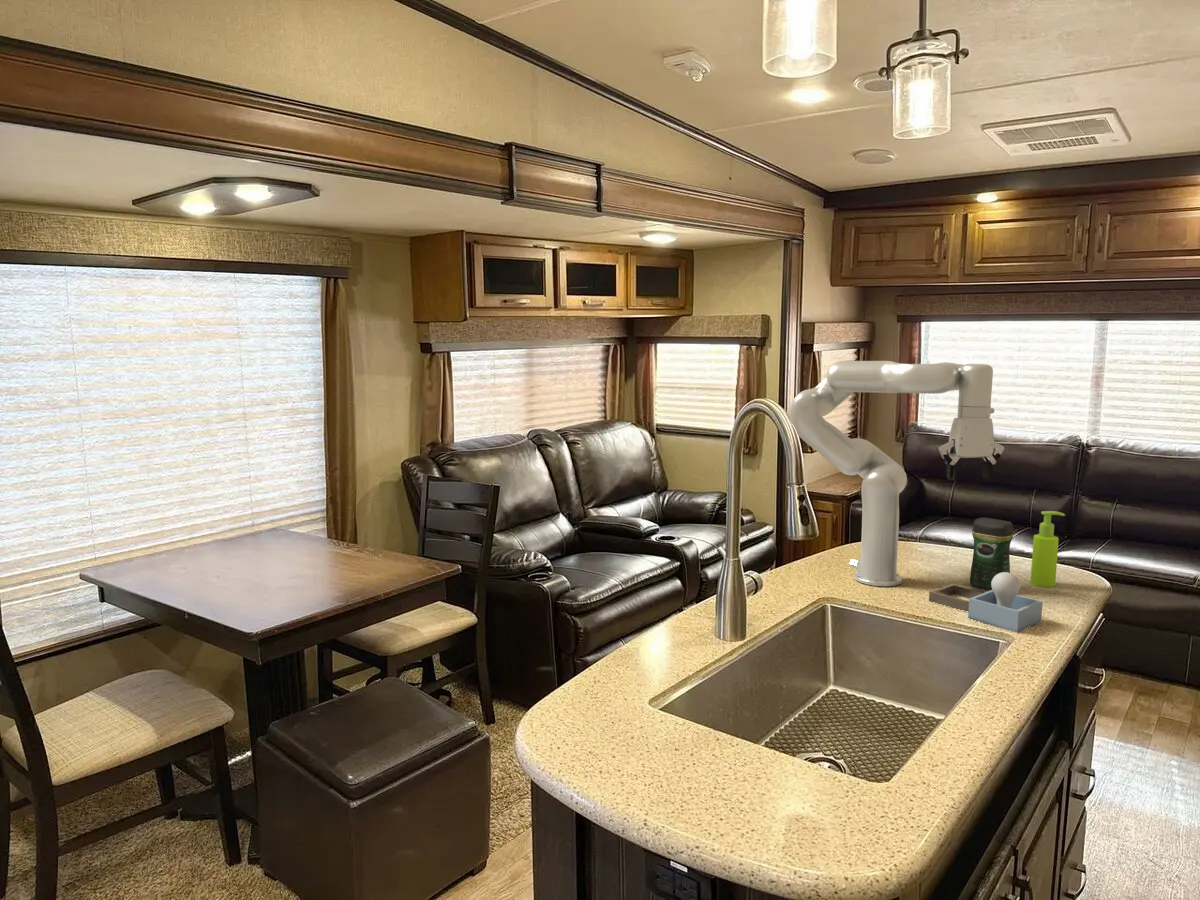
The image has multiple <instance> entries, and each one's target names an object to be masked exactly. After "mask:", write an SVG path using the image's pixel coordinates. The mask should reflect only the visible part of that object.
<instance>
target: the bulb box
mask: <svg viewBox="0 0 1200 900" xmlns="http://www.w3.org/2000/svg"><path fill="white" fill-rule="evenodd" d="M984 592H985V593H982V594H980V595H977V596H975V597H972V598H970V599H969V598H968V601H969V611H968V612H967V613H968V614H967V615H968V616H967V619H968V618H970V619H969V620H971V619H973V620H972V621H974V620H976V621H975V622H978V621H980V622H979V623H981V622H983V623H982V624H985V623H986V624H985V625H988V624H990V625H989V626H992V625H994V626H993V627H995V626H997V627H996V628H999V627H1000V629H1002V628H1003V630H1006V629H1007V631H1009V630H1011V631H1010V632H1013V631H1014V632H1013V633H1016V632H1018V633H1020V632H1022V631H1024V630H1026V629H1028V628H1030V627H1029V626H1031V625H1033V624H1035V625H1037V624H1039V623H1041V622H1042V617H1043V616H1042V615H1043V602H1044V601H1043V600H1040V599H1035V598H1032V597H1027V596H1023V595H1019V594H1017V595H1016V597H1015V598H1014V600H1013V603H1012V607H1011V608H1007V607H1004V606H1000V605H997V599H996V596H995V594H994V592H993V590H987V591H984ZM1040 621H1041V622H1040ZM1038 622H1039V623H1038ZM1036 623H1037V624H1036ZM1033 626H1034V625H1033ZM1027 627H1028V628H1027ZM1031 627H1032V626H1031ZM1025 628H1026V629H1025ZM1023 629H1024V630H1023ZM1021 630H1022V631H1021ZM1019 631H1020V632H1019Z"/></svg>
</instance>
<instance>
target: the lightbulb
mask: <svg viewBox="0 0 1200 900" xmlns="http://www.w3.org/2000/svg"><path fill="white" fill-rule="evenodd" d="M991 586H992V589H993V592H994V594H995V596H996V599H997V605H1000V606H1004V607H1007V608H1011V607H1012V603H1013V600H1014V598H1015V597H1016V595H1019V592H1020V589H1021V582H1020V580H1019V578H1018V577H1017V576H1016V575H1014V574H1013V573H1011V572H1010V573H1008V572H1002V573H999V574H997V575H996V576H994V578H993V579H992V582H991Z"/></svg>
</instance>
